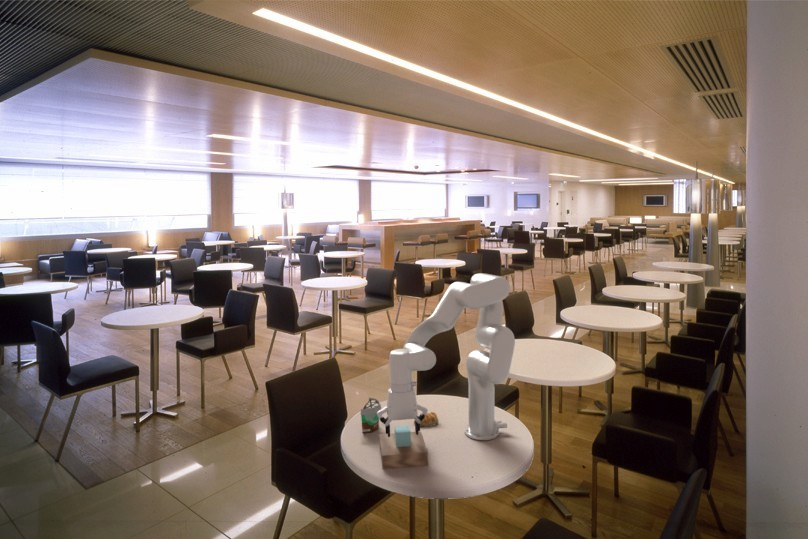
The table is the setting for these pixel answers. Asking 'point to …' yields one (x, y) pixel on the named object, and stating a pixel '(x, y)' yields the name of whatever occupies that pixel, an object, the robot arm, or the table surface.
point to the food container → (370, 416)
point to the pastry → (429, 419)
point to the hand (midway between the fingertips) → (402, 434)
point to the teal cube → (402, 436)
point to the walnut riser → (403, 452)
